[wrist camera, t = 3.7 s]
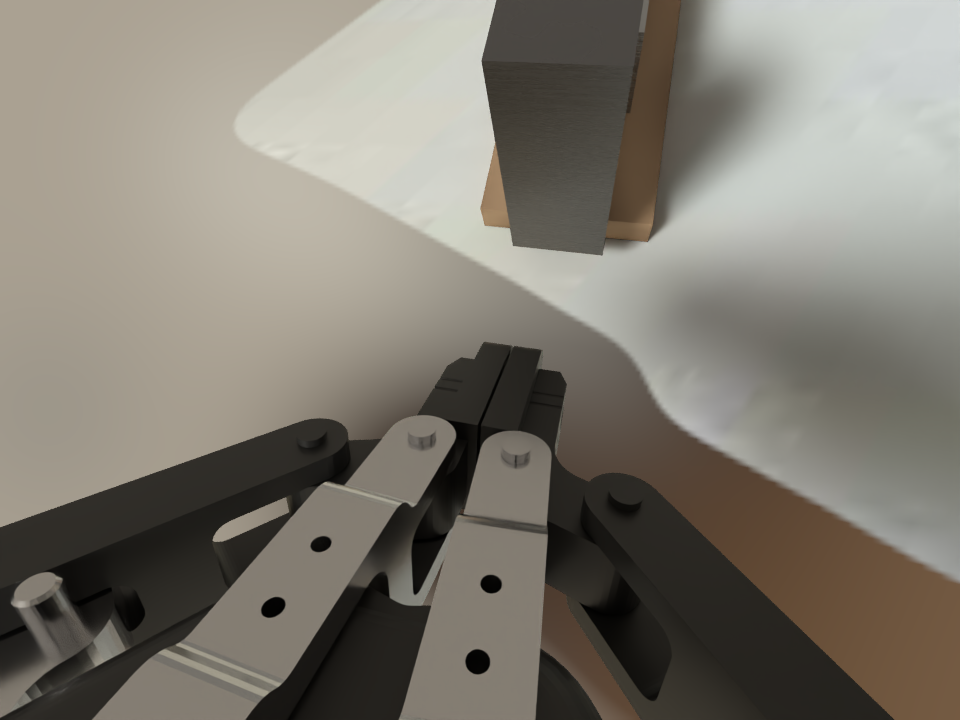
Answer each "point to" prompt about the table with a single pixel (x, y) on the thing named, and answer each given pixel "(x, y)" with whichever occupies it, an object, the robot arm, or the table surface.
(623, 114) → the brushed grey metal block
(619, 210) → the guide board
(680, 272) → the table surface
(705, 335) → the table surface
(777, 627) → the robot arm
